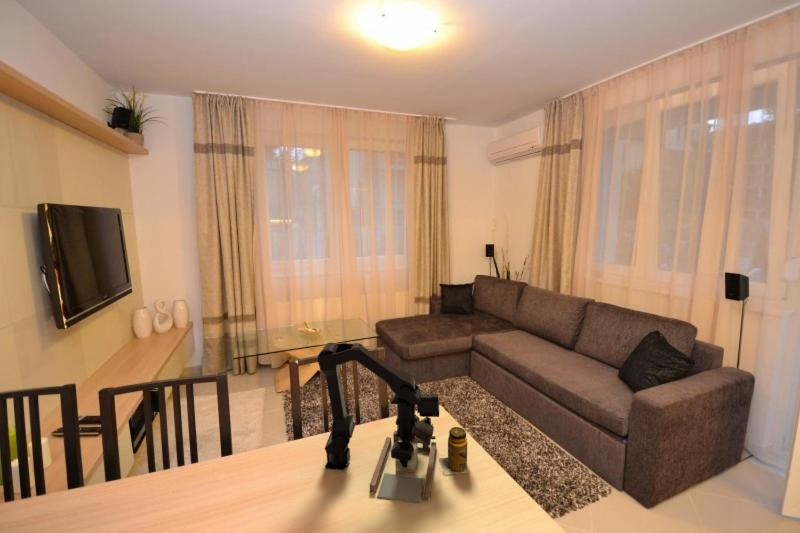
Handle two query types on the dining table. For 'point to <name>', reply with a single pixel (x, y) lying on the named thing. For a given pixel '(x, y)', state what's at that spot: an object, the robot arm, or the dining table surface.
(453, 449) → the condiment
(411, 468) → the block
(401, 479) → the front pad
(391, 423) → the dining table surface
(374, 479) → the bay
